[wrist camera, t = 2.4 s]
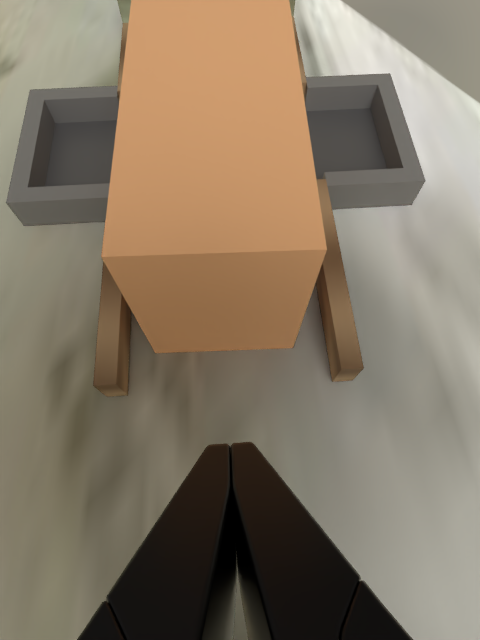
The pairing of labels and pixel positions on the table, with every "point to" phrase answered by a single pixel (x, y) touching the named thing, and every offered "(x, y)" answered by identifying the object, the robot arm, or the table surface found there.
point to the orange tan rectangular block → (213, 177)
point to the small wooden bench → (329, 285)
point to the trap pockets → (100, 129)
